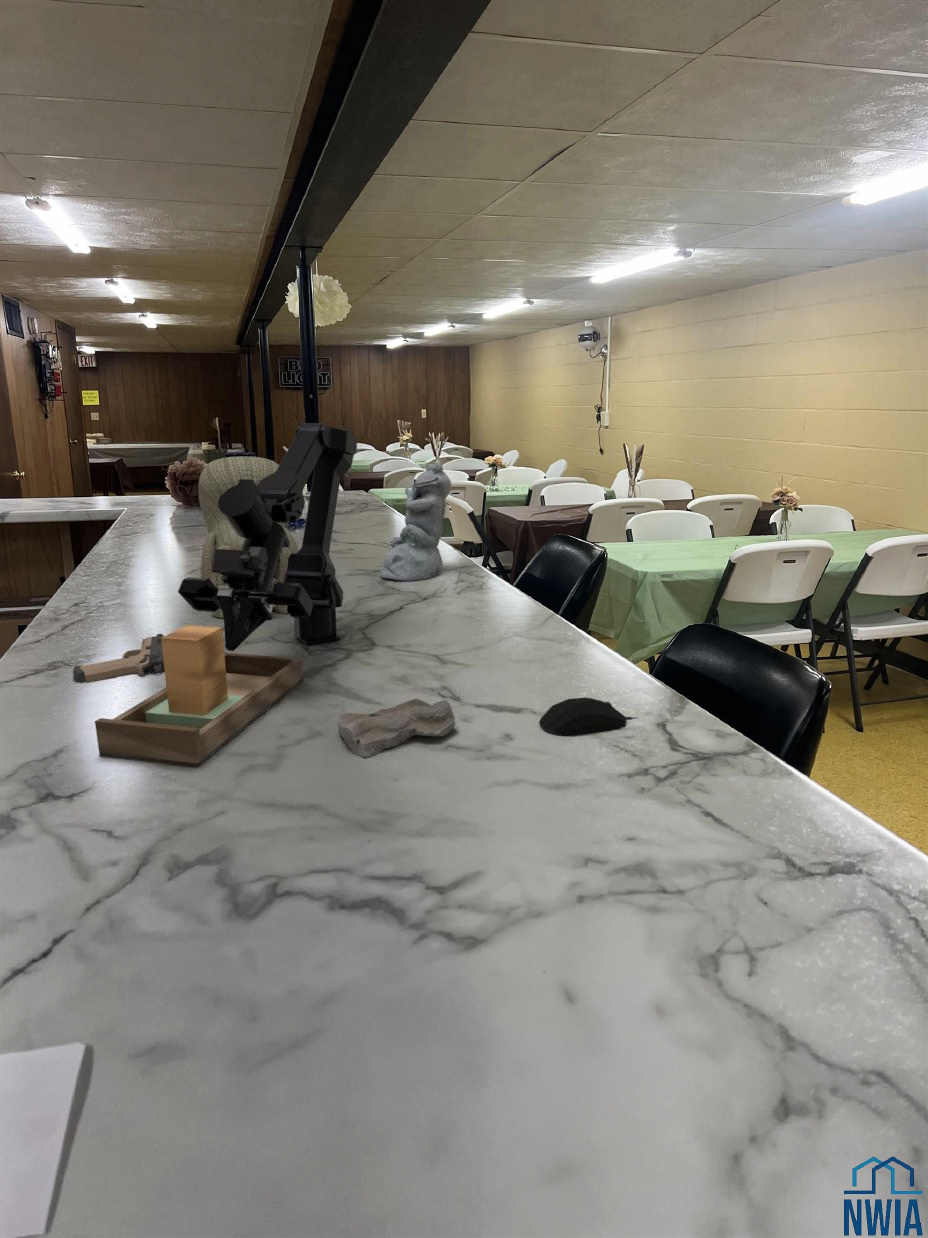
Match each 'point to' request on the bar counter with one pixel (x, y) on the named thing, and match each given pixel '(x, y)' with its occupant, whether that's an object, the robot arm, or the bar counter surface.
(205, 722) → the pad
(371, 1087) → the bar counter surface
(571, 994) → the bar counter surface
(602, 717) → the gaming mouse
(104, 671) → the handgun
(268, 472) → the toy
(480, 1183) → the bar counter surface
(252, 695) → the tray box
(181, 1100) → the bar counter surface
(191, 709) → the block
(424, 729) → the stone
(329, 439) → the robot arm
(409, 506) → the sculpture
